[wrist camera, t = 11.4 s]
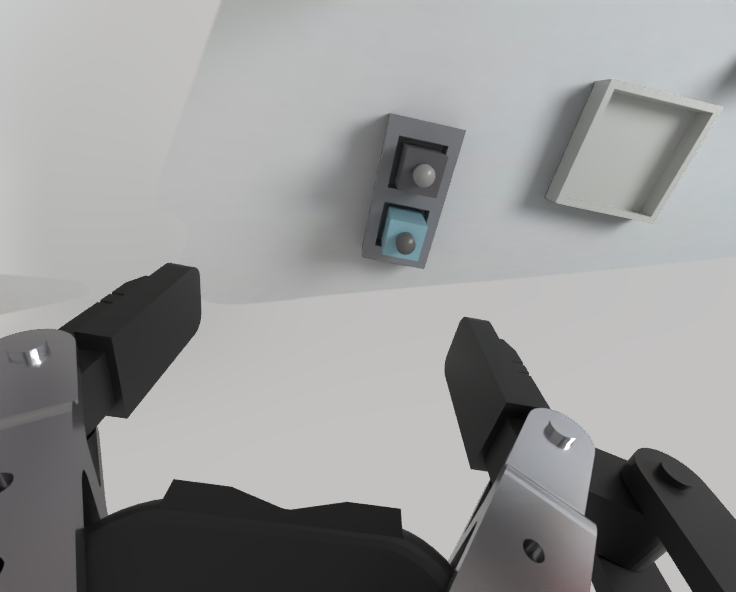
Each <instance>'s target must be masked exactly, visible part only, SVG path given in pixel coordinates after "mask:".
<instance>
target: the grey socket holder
mask: <svg viewBox="0 0 736 592" xmlns="http://www.w3.org/2000/svg"><path fill="white" fill-rule="evenodd" d="M465 132H466V130H462V129H457V128H453V127H448V126H444V125H440V124H435V123H431V122H426V121H422V120H418V119H413V118H409V117H404V116H400V115H395V114H391V113H389V118H388V123H387V128H386V133H385V138H384V143H383V148H382V153H381V158H380V162H379V167H378V172H377V177H376V182H375V187H374V192H373V197H372V202H371V207H370V212H369V217H368V222H367V227H366V232H365V237H364V242H363V247H362V257H364V258H369V259H374V260H380V261H385V262H390V263H395V264H401V265H406V266H411V267H416V268H422V269H424V268H425V264H426V261H427V258H428V254H429V251H430V248H431V244H432V241H433V238H434V235H435V231H436V228H437V225H438V221H439V218H440V215H441V211H442V208H443V205H444V201H445V198H446V195H447V191H448V188H449V185H450V182H451V178H452V175H453V172H454V168H455V165H456V162H457V158H458V155H459V152H460V148H461V145H462V142H463V139H464V135H465ZM402 142H404V143H409V144H413V145H418V146H422V147H427V148H431V149H436V150H438V151H440V152H441V153H443V154H445V155H447V156H448V160H447V164H446V167H445V171H444V174H443V178H442V181H441V184H440V188H439V191H438V195H437V198H432V197H427V196H422V195H417V194H412V193H408V192H403V191H398V190H397V186H396V183H395V180H394V176H395V172H396V167H397V163H398V158H399V154H400V149H401V145H402ZM388 203H389V204H394V205H399V206H403V207H408V208H413V209H418V210H420V211H421V213H422V215H423V217H424V219H425V221H426V224H427V226H428V229H427V232H426V235H425V239H424V242H423V246H422V249H421V252H420V256H419V259H418V261H413V260H408V259H403V258H398V257H393V256H387V255H382V240H381V233H382V228H383V224H384V219H385V215H386V211H387V206H388Z"/></svg>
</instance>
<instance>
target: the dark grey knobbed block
mask: <svg viewBox="0 0 736 592" xmlns="http://www.w3.org/2000/svg"><path fill="white" fill-rule="evenodd" d="M447 160H448V156H447V155H445V154H443V153H441V152H440V151H438V150H436V149H431V148H427V147H422V146H418V145H413V144H409V143H404V142H402V145H401V149H400V154H399V158H398V163H397V167H396V172H395V176H394V180H395V183H396V186H397V190H398V191H403V192H408V193H412V194H417V195H422V196H427V197H432V198H437V195H438V191H439V188H440V184H441V181H442V178H443V174H444V171H445V167H446V164H447Z"/></svg>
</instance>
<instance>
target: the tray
mask: <svg viewBox="0 0 736 592" xmlns="http://www.w3.org/2000/svg"><path fill="white" fill-rule="evenodd" d="M723 108H724V107H722V106H718V105H714V104H710V103H706V102H702V101H698V100H694V99H690V98H686V97H682V96H678V95H674V94H670V93H666V92H662V91H658V90H654V89H650V88H646V87H642V86H638V85H634V84H630V83H626V82H622V81H618V80H614V79H609V80H601V81H596V82H595V84H594V86H593V89H592V91H591V93H590V95H589V98H588V100H587V102H586V105H585V107H584V109H583V111H582V114H581V116H580V118H579V121H578V123H577V125H576V127H575V130H574V132H573V134H572V137H571V139H570V141H569V143H568V146H567V148H566V150H565V153H564V155H563V157H562V159H561V162H560V164H559V166H558V169H557V171H556V173H555V175H554V178H553V180H552V182H551V185H550V187H549V189H548V191H547V194H546V196H545V198H546V199H548V200H550V201H552V202H554V203H558V204H562V205H567V206H572V207H576V208H581V209H586V210H590V211H595V212H600V213H604V214H609V215H614V216H619V217H623V218H628V219H633V220H637V221H642V222H647V223H651V224H653V223H654V221H655V220H656V218H657V217H658V215H659V213H660V212H661V210H662V208H663V207H664V205H665V203H666V202H667V200H668V198H669V197H670V195H671V194H672V192H673V190H674V189H675V187H676V185H677V184H678V182H679V180H680V179H681V177H682V175H683V174H684V172H685V171H686V169H687V167H688V166H689V164H690V162H691V161H692V159H693V157H694V156H695V154H696V152H697V151H698V149H699V148H700V146H701V144H702V143H703V141H704V139H705V138H706V136H707V134H708V133H709V131H710V129H711V128H712V126H713V124H714V123H715V121H716V120H717V118H718V116H719V115H720V113H721V111H722V110H723Z"/></svg>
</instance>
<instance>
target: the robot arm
mask: <svg viewBox="0 0 736 592" xmlns="http://www.w3.org/2000/svg"><path fill="white" fill-rule="evenodd" d="M200 320H201V293H200V274H199V271H198V269H197V268H195V267H190V266H184V265H179V264H173V263H167V264H165V265H164V266H162V267H161V268H160V269H158V270H157V271H155V272H154V273H153V274H151V275H150V276H143V277H140V278H138V279H135V280H132V281H129V282H126V283H125V284H123V285H122V286H120V287H119V288H117V289H116V290H115V291H113V292H112V294H109V295H107V296H106V297H104V298H103V299H102V300H101V301H100V303H99V302H97V303H96V304H94V305H93V306H91V307H90V308H88V309H87V310H85V311H84V312H82V313H81V314H80V315H78V316H77V317H75V318H74V319H72V320H71V321H69V322H68V323H66V324H65V325H64V326H62V327H61V328H59V329H58V330H56V329H37V330H29V331H24V332H19V333H15V334H12V335H9V336H6V337H3V338H1V339H0V592H590V585H591V581H592V583H593V585H594V588H595V590H596V592H671V590H670V588H669V587H668V585H667V583H666V581H665V580H664V578H663V576H662V574H661V573H660V571H659V569H658V568H657V566H656V564H655V563H654V561H655V560H657V559H658V558H659V557H660V556H662V555H663V554H664V553H665V552H666V551H667V552H668V553H669V555H670V556H671V558H672V559H673V561H674V563H675V564H676V566H677V568H678V569H679V571H680V572H681V574H682V576H683V577H684V579H685V580H686V582H687V583H688V585H689V587H690V588H691V590H692V592H736V519H735V518H734V517H733V516H732V515H731V514H730V512H729V511H728V510H727V509H726V508H725V507H724V505H723V504H722V503H721V502H720V500H719V499H718V498H717V497H716V496H715V495H714V493H713V492H712V491H711V490H710V489H709V488H708V486H707V485H706V484H705V483H704V482H703V481H702V480H701V479H700V478H699V477H698V476H697V475H696V474H695V473H694V472H693V471H692V470H690V469H689V468H688V467H687V466H685V465H684V464H682V463H681V462H679V461H678V460H676V459H675V458H673V457H671V456H669V455H667V454H665V453H663V452H660V451H658V450H654V449H650V448H641V449H638V450H637V451H636V452H635V453H634V454H633V455H632V457H631V458H630V459H629V460H628V461H627V460H624V459H622V458H619V457H617V456H615V455H612V454H609V453H607V452H605V451H602V450H599V449H597V448H595V447H594V444H593V442H592V440H591V438H590V436H589V435H588V434H587V433H586V431H585V430H584V429H583V428H582V427H581V426H580V425H578V424H577V423H576V422H575V421H573V420H572V419H570V418H569V417H567V416H566V415H564V414H562V413H560V412H557V411H555V410H551V409H550V408H549V406H548V404H547V402H546V401H545V399H544V398H543V396H542V394H541V392H540V391H539V389H538V387H537V386H536V384H535V383H534V381H533V379H532V378H531V376H529V372H528V371H527V369H526V367H525V366H523V363H522V361H521V359H520V357H519V356H518V354H517V353H516V351H515V350H514V349H513V348H512V347H511V346H509V344H507V343H506V342H505V341H504V340H503V339H499V338H498V336H497V334H496V332H495V331H494V328H493V327H492V325H491V323H490V322H489V321H486V320H480V319H474V318H469V317H463V319H462V320H461V321H460V323H459V326H458V328H457V331H456V333H455V336H454V339H453V341H452V344H451V346H450V349H449V351H448V354H447V357H446V361H445V377H446V381H447V384H448V388H449V392H450V395H451V399H452V402H453V406H454V410H455V413H456V417H457V420H458V424H459V428H460V432H461V435H462V439H463V442H464V446H465V450H466V453H467V457H468V461H469V464H470V468H471V469H474V470H482V471H488V473H489V476H490V481H489V482H488V484H487V486H486V487H485V489H484V492H483V493H482V496H481V498H480V499H479V501H478V503H477V506H476V507H475V509H474V511H473V513H472V516H471V517H470V519H469V521H468V523H467V525H466V527H465V529H464V531H463V533H462V535H461V537H460V539H459V541H458V543H457V545H456V547H455V549H454V551H453V553H452V555H451V556H450V558H449V560H448V561H447V560H446V559H445V558H444V557H443V556H442V555H441V554H439V552H437V551H436V550H435V549H434V548H433V547H431V546H430V545H429V544H428V543H426V542H425V541H424V540H422V539H421V538H419V537H417V536H416V535H414V534H412V533H410V532H409V531H406V530H404V529H402V521H401V509H398V508H390V507H382V506H375V505H367V504H359V503H351V502H343V503H336V504H329V505H322V506H315V507H307V508H300V509H293V510H288V509H283V508H280V507H277V506H275V505H273V504H271V503H268V502H266V501H264V500H261V499H259V498H256V497H254V496H251V495H249V494H247V493H245V492H243V491H240V490H238V489H235V488H233V487H229V486H221V485H214V484H205V483H198V482H190V481H183V480H175V479H174V480H173V482H172V483H171V485H170V487H169V489H168V491H167V492H166V494H165V496H164V498H163V499H159V500H154V501H149V502H145V503H140V504H137V505H134V506H131V507H128V508H125V509H122V510H120V511H117V512H115V513H113V514H111V515H108V513H107V508H106V501H105V492H104V481H103V470H102V460H101V449H100V439H99V431H98V427H97V425H98V424H99V423H100V422H101V420H102V419H103V418H104V417H105V416H112V417H120V418H128V417H129V416H130V414H131V413H132V412H133V410H134V409H135V408H136V407H137V406H138V404H139V403H140V402H141V401H142V399H143V398H144V397H145V396H146V394H147V393H148V392H149V391H150V389H151V388H152V387H153V386H154V384H155V383H156V382H157V381H158V379H159V378H160V377H161V376H162V374H163V373H164V372H165V371H166V369H167V368H168V367H169V366H170V364H171V363H172V362H173V361H174V359H175V358H176V357H177V356H178V354H179V353H180V352H181V351H182V349H183V348H184V347H185V346H186V345H187V343H188V342H189V341H190V340H191V338H192V337H193V336H194V335H195V333H196V332H197V330H198V327H199V324H200Z"/></svg>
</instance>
